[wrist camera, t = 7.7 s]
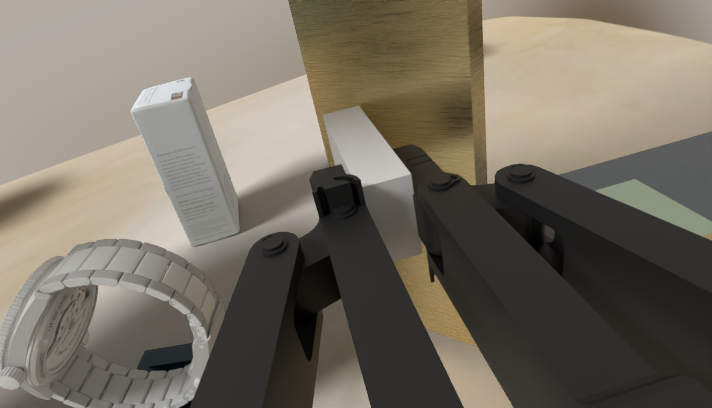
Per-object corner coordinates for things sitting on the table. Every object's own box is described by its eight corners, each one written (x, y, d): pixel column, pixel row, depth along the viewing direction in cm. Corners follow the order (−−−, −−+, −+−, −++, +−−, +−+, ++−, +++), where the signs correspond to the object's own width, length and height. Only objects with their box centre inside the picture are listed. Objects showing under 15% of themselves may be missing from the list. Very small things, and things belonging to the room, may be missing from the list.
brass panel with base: (371, 300, 26) (296, -25, 17) (730, 339, 19) (927, -152, 10) (311, 452, 19) (122, 29, 10) (845, 591, 12) (1815, -273, 3)
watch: (136, 393, 24) (18, 235, 18) (276, 371, 23) (201, 201, 17) (85, 506, 19) (-99, 340, 13) (260, 482, 18) (149, 298, 13)
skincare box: (195, 214, 40) (137, 89, 34) (241, 200, 41) (193, 74, 34) (191, 250, 35) (122, 110, 29) (245, 234, 36) (188, 93, 29)
